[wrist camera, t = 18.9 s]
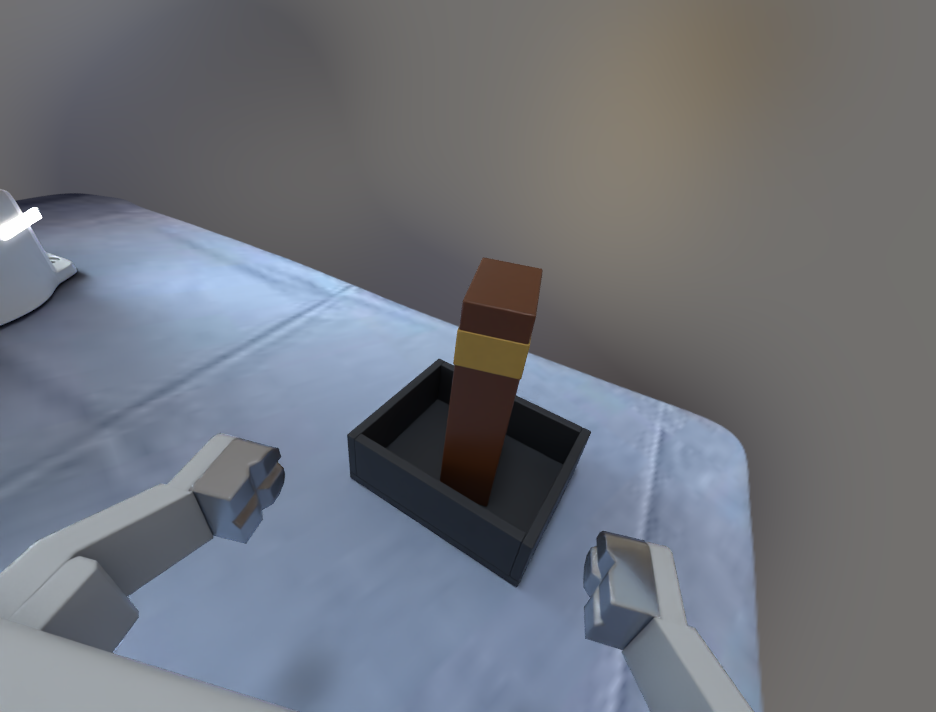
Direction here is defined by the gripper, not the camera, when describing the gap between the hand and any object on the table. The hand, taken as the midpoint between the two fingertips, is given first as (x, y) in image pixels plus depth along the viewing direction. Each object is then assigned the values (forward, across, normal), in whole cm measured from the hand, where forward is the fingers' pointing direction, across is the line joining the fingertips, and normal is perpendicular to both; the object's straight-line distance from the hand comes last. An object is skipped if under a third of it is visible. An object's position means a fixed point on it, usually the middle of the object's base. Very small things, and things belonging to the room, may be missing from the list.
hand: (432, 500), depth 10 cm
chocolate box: (+12, 0, +14) cm, 18 cm away
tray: (+12, 0, +14) cm, 19 cm away
